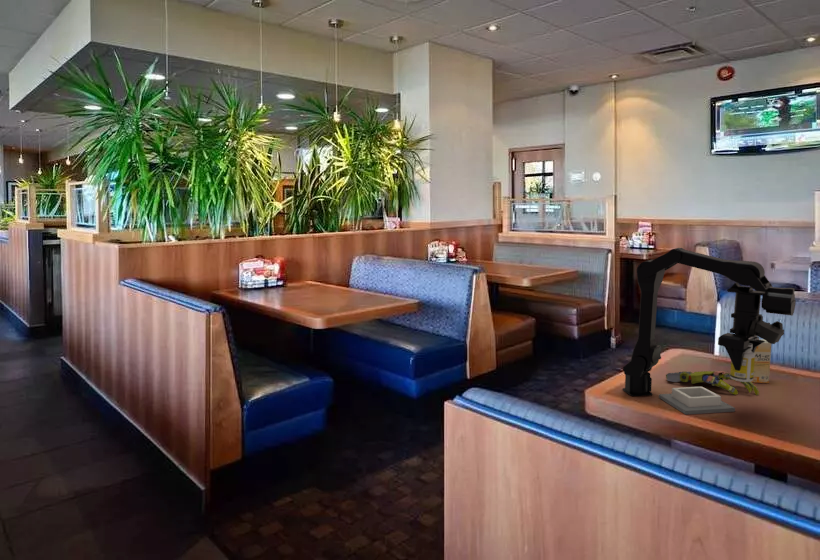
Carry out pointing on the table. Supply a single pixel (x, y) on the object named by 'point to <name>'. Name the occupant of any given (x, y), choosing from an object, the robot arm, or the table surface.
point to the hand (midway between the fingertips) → (741, 368)
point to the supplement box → (762, 363)
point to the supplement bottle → (744, 367)
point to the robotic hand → (711, 377)
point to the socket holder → (696, 401)
